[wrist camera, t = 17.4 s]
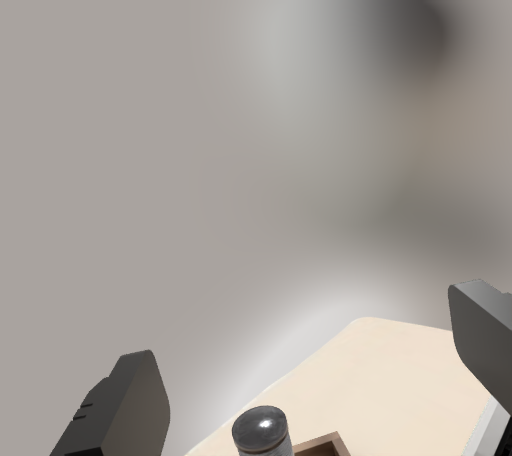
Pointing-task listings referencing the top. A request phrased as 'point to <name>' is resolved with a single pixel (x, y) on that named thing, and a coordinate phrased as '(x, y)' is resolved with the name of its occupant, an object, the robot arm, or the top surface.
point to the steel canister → (262, 433)
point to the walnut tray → (322, 446)
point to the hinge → (491, 432)
